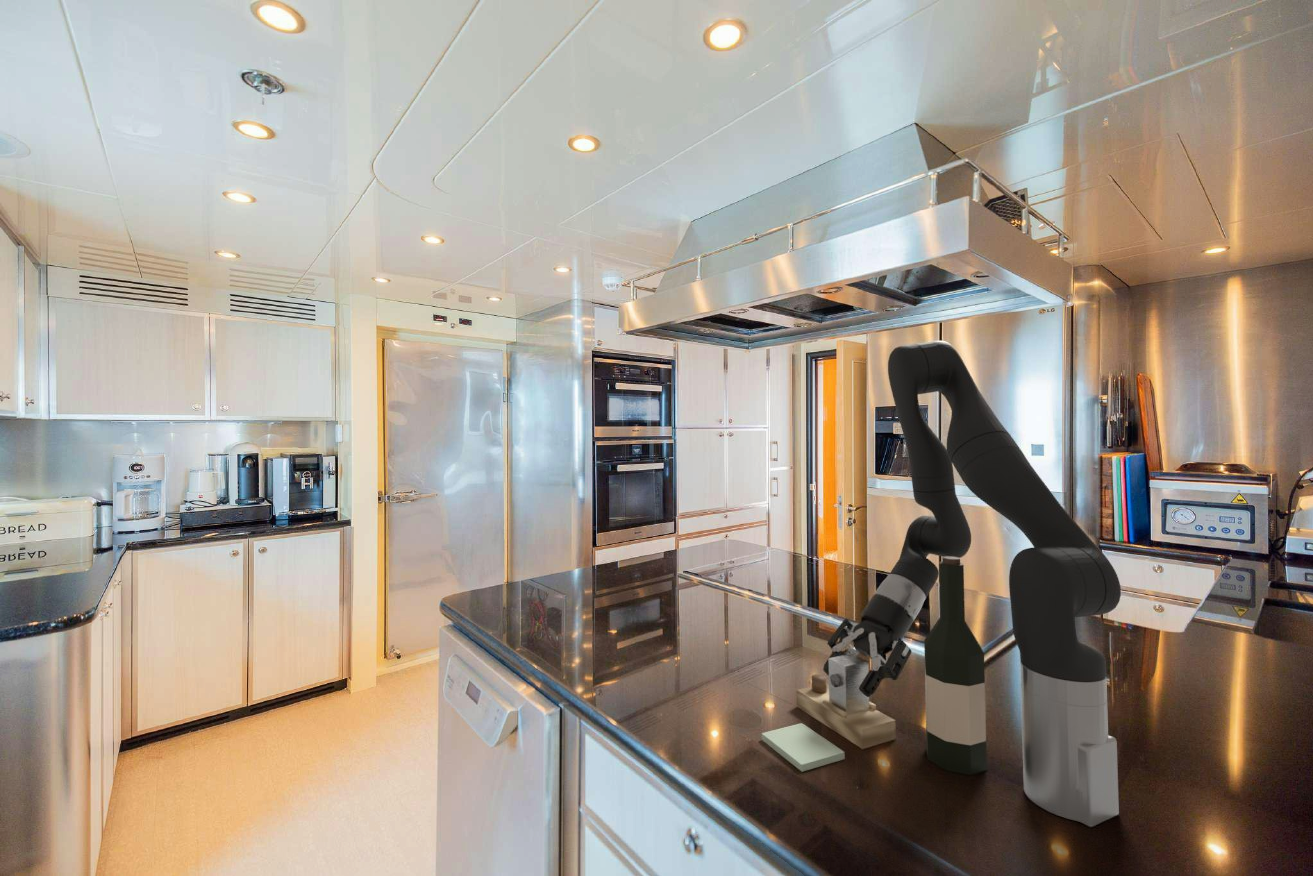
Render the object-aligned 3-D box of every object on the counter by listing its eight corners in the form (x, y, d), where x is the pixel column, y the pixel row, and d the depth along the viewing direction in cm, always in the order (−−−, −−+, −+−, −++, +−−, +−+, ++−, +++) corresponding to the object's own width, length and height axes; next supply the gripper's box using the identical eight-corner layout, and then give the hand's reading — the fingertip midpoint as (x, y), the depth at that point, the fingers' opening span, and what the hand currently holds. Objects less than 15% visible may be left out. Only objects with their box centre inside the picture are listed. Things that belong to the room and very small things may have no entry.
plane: (895, 739, 89) (895, 705, 89) (862, 749, 86) (861, 713, 87) (827, 699, 104) (826, 670, 104) (796, 706, 101) (796, 676, 101)
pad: (844, 758, 84) (844, 752, 84) (801, 771, 80) (801, 764, 80) (801, 729, 93) (801, 723, 93) (761, 739, 89) (761, 733, 90)
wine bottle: (916, 759, 83) (912, 558, 84) (936, 738, 89) (932, 551, 90) (978, 782, 77) (972, 565, 78) (995, 758, 83) (990, 557, 84)
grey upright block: (869, 709, 93) (868, 661, 93) (843, 716, 91) (842, 666, 91) (851, 700, 97) (851, 653, 97) (826, 706, 94) (825, 658, 95)
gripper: (852, 584, 104) (804, 655, 99) (916, 603, 91) (863, 686, 86) (874, 609, 106) (828, 680, 101) (939, 631, 93) (890, 714, 88)
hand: (844, 683), depth 94 cm, fingers open, 8 cm apart
